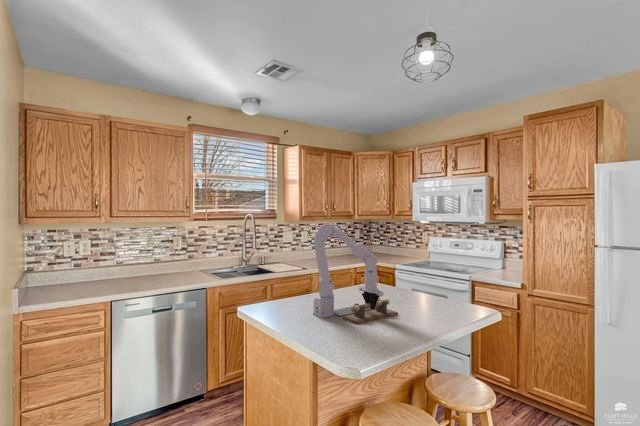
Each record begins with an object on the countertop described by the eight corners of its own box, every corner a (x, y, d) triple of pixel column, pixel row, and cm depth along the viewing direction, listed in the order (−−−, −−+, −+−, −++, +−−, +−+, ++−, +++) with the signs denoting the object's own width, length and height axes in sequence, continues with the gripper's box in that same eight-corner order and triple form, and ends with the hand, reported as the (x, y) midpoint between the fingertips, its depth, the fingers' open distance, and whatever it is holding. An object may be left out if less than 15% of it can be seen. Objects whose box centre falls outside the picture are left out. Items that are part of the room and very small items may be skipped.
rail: (354, 312, 153) (354, 306, 153) (351, 311, 155) (351, 305, 155) (389, 305, 166) (389, 299, 166) (385, 303, 168) (385, 298, 168)
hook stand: (356, 324, 149) (356, 309, 149) (342, 318, 157) (342, 304, 157) (397, 314, 164) (397, 301, 164) (383, 309, 172) (383, 296, 172)
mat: (339, 317, 159) (339, 315, 159) (328, 312, 167) (328, 311, 167) (379, 308, 174) (379, 307, 174) (367, 304, 182) (367, 303, 182)
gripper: (388, 281, 157) (388, 310, 157) (366, 276, 169) (366, 303, 169) (376, 283, 153) (376, 313, 153) (355, 278, 165) (355, 306, 165)
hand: (370, 308), depth 161 cm, fingers closed on rail, 2 cm apart
